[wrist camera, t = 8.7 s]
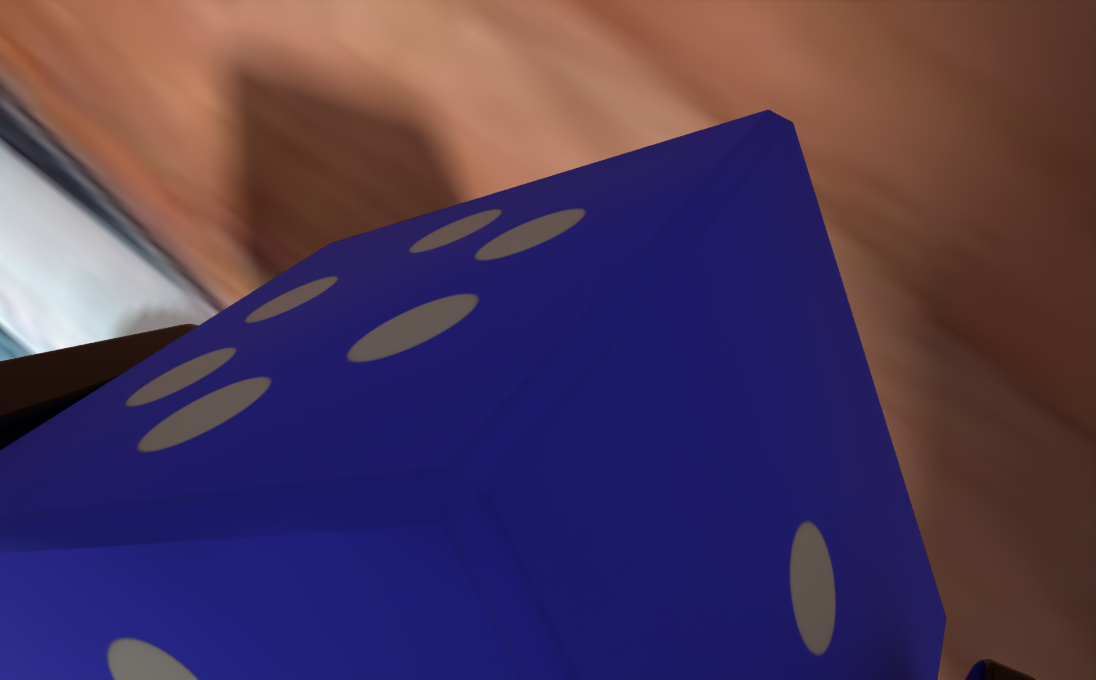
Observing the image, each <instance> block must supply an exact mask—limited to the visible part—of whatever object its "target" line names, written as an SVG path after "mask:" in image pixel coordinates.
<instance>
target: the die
mask: <svg viewBox="0 0 1096 680" xmlns="http://www.w3.org/2000/svg"><path fill="white" fill-rule="evenodd" d="M945 623H946V615H945V612H944V609H943V605H942V602H941V599H940V596H939V592H938V589H937V586H936V583H935V580H934V576H933V573H932V570H931V567H930V563H929V560H928V557H927V554H926V550H925V547H924V544H923V541H922V538H921V534H920V531H919V528H918V525H917V521H916V518H915V515H914V512H913V508H912V505H911V502H910V499H909V496H908V492H907V489H906V486H905V483H904V479H903V476H902V473H901V470H900V466H899V463H898V460H897V457H896V454H895V450H894V447H893V444H892V441H891V437H890V434H889V431H888V428H887V424H886V421H885V418H884V415H883V412H882V408H881V405H880V402H879V399H878V395H877V392H876V389H875V386H874V382H873V379H872V376H871V373H870V370H869V366H868V363H867V360H866V357H865V353H864V350H863V347H862V344H861V341H860V337H859V334H858V331H857V328H856V324H855V321H854V318H853V315H852V311H851V308H850V305H849V302H848V299H847V295H846V292H845V289H844V286H843V282H842V279H841V276H840V273H839V269H838V266H837V263H836V260H835V257H834V253H833V250H832V247H831V244H830V240H829V237H828V234H827V231H826V227H825V224H824V221H823V218H822V215H821V211H820V208H819V205H818V202H817V198H816V195H815V192H814V189H813V185H812V182H811V179H810V176H809V173H808V169H807V166H806V163H805V160H804V156H803V153H802V150H801V147H800V143H799V140H798V137H797V134H796V131H795V127H794V124H793V122H791V121H789V120H787V119H785V118H783V117H782V116H780V115H778V114H776V113H774V112H772V111H770V110H766V111H762V112H759V113H756V114H752V115H749V116H746V117H743V118H739V119H736V120H733V121H730V122H726V123H723V124H720V125H716V126H713V127H710V128H707V129H703V130H700V131H697V132H693V133H690V134H687V135H684V136H680V137H677V138H674V139H671V140H667V141H664V142H661V143H657V144H654V145H651V146H648V147H644V148H641V149H638V150H635V151H631V152H628V153H625V154H621V155H618V156H615V157H612V158H608V159H605V160H602V161H599V162H595V163H592V164H589V165H585V166H582V167H579V168H576V169H572V170H569V171H566V172H563V173H559V174H556V175H553V176H549V177H546V178H543V179H540V180H536V181H533V182H530V183H526V184H523V185H520V186H517V187H513V188H510V189H507V190H504V191H500V192H497V193H494V194H490V195H487V196H484V197H481V198H477V199H474V200H471V201H468V202H464V203H461V204H458V205H454V206H451V207H448V208H445V209H441V210H438V211H435V212H432V213H428V214H425V215H422V216H418V217H415V218H412V219H409V220H405V221H402V222H399V223H395V224H392V225H389V226H386V227H382V228H379V229H376V230H373V231H369V232H366V233H363V234H359V235H356V236H353V237H350V238H346V239H343V240H340V241H337V242H333V243H330V244H328V245H327V246H325V247H323V248H322V249H320V250H319V251H317V252H315V253H314V254H312V255H311V256H309V257H307V258H306V259H304V260H303V261H301V262H299V263H298V264H296V265H295V266H293V267H292V268H290V269H288V270H287V271H285V272H284V273H282V274H280V275H279V276H277V277H276V278H274V279H272V280H271V281H269V282H268V283H266V284H264V285H263V286H261V287H260V288H258V289H256V290H255V291H253V292H252V293H250V294H249V295H247V296H245V297H244V298H242V299H241V300H239V301H237V302H236V303H234V304H233V305H231V306H229V307H228V308H226V309H225V310H223V311H221V312H220V313H218V314H217V315H215V316H213V317H212V318H210V319H209V320H207V321H206V322H204V323H202V324H201V325H199V326H198V327H196V328H194V329H193V330H191V331H190V332H188V333H186V334H185V335H183V336H182V337H180V338H178V339H177V340H175V341H174V342H172V343H171V344H169V345H167V346H166V347H164V348H163V349H161V350H159V351H158V352H156V353H155V354H153V355H151V356H150V357H148V358H147V359H145V360H143V361H142V362H140V363H139V364H137V365H135V366H134V367H132V368H131V369H129V370H128V371H126V372H124V373H123V374H121V375H120V376H118V377H116V378H115V379H113V380H112V381H110V382H108V383H107V384H105V385H104V386H102V387H100V388H99V389H97V390H96V391H94V392H93V393H91V394H89V395H88V396H86V397H85V398H83V399H81V400H80V401H78V402H77V403H75V404H73V405H72V406H70V407H69V408H67V409H65V410H64V411H62V412H61V413H59V414H57V415H56V416H54V417H53V418H51V419H50V420H48V421H46V422H45V423H43V424H42V425H40V426H38V427H37V428H35V429H34V430H32V431H30V432H29V433H27V434H26V435H24V436H22V437H21V438H19V439H18V440H16V441H14V442H13V443H11V444H10V445H8V446H7V447H5V448H3V449H2V450H0V680H937V679H938V672H939V665H940V658H941V651H942V644H943V637H944V630H945Z"/></svg>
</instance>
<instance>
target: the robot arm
mask: <svg viewBox="0 0 1096 680" xmlns="http://www.w3.org/2000/svg"><path fill="white" fill-rule="evenodd" d="M196 327H198V325H194V324H184V325H178V326H173V327H168V328H164V329H158V330H154V331H149V332H144V333H139V334H134V335H129V336H124V337H119V338H114V339H109V340H104V341H99V342H94V343H89V344H84V345H79V346H74V347H69V348H64V349H59V350H54V351H49V352H44V353H39V354H34V355H29V356H24V357H19V358H14V359H9V360H4V361H0V450H2V449H3V448H5V447H7V446H8V445H10V444H11V443H13V442H14V441H16V440H18V439H19V438H21V437H22V436H24V435H26V434H27V433H29V432H30V431H32V430H34V429H35V428H37V427H38V426H40V425H42V424H43V423H45V422H46V421H48V420H50V419H51V418H53V417H54V416H56V415H57V414H59V413H61V412H62V411H64V410H65V409H67V408H69V407H70V406H72V405H73V404H75V403H77V402H78V401H80V400H81V399H83V398H85V397H86V396H88V395H89V394H91V393H93V392H94V391H96V390H97V389H99V388H100V387H102V386H104V385H105V384H107V383H108V382H110V381H112V380H113V379H115V378H116V377H118V376H120V375H121V374H123V373H124V372H126V371H128V370H129V369H131V368H132V367H134V366H135V365H137V364H139V363H140V362H142V361H143V360H145V359H147V358H148V357H150V356H151V355H153V354H155V353H156V352H158V351H159V350H161V349H163V348H164V347H166V346H167V345H169V344H171V343H172V342H174V341H175V340H177V339H178V338H180V337H182V336H183V335H185V334H186V333H188V332H190V331H191V330H193V329H194V328H196ZM965 680H1036V679H1034V678H1033V677H1031V676H1028V675H1026V674H1024V673H1021V672H1019V671H1017V670H1014V669H1012V668H1010V667H1007V666H1005V665H1002V664H1000V663H998V662H995V661H993V660H989V659H985V660H980V661H979V662H977V663H976V664H975V665H974V666H973V668H972V669H971V670H970V672H969V674H968V675H967V677H966V679H965Z"/></svg>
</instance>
